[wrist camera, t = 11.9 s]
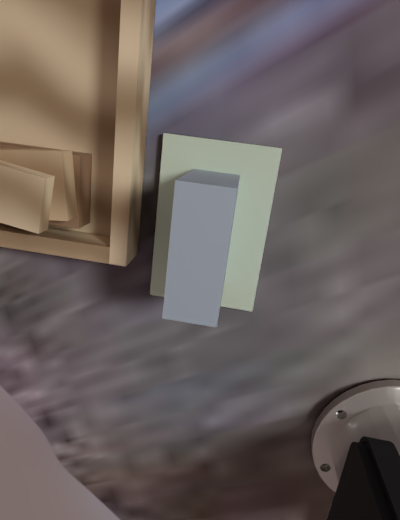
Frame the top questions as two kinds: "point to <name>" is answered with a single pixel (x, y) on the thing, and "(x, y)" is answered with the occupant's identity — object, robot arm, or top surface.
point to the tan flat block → (82, 184)
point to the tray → (81, 111)
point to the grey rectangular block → (199, 245)
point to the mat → (246, 212)
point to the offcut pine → (25, 197)
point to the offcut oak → (52, 164)
